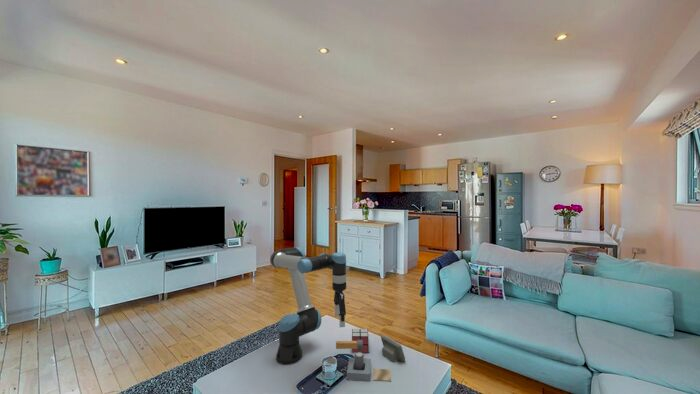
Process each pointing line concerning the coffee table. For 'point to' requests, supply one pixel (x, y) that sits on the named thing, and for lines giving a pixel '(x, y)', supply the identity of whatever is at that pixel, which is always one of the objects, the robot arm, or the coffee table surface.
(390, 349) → the digital clock
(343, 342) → the wooden handle
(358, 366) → the plug
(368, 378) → the socket
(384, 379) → the coaster
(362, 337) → the puzzle cube
